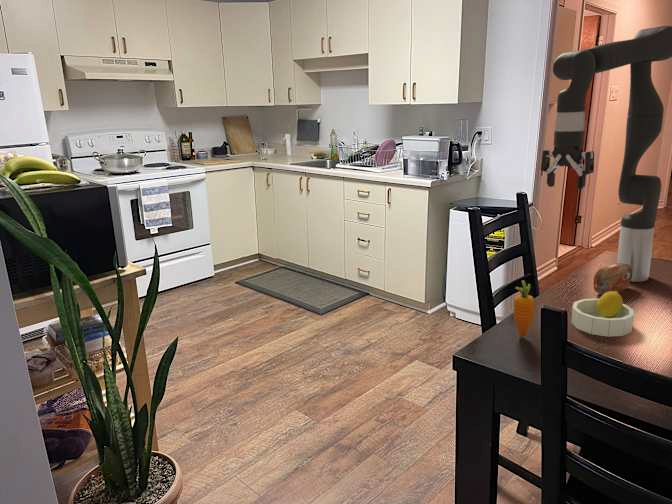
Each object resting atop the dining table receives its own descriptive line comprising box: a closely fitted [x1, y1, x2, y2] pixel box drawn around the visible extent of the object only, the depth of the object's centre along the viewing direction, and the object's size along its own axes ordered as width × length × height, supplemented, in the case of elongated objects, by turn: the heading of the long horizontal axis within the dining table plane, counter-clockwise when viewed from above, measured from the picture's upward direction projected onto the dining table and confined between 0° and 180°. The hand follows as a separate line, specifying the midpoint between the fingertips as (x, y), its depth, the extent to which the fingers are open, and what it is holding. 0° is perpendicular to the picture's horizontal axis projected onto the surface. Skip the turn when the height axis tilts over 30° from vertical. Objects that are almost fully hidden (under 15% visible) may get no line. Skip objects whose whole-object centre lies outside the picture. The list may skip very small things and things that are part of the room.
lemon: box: [597, 291, 624, 318], centre depth 133 cm, size 6×6×8 cm
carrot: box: [513, 280, 536, 339], centre depth 126 cm, size 5×5×15 cm
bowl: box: [570, 298, 635, 338], centre depth 133 cm, size 14×14×4 cm
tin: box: [593, 262, 632, 295], centre depth 154 cm, size 15×3×8 cm, turn 118°
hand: (565, 187), depth 144 cm, fingers open, 8 cm apart
